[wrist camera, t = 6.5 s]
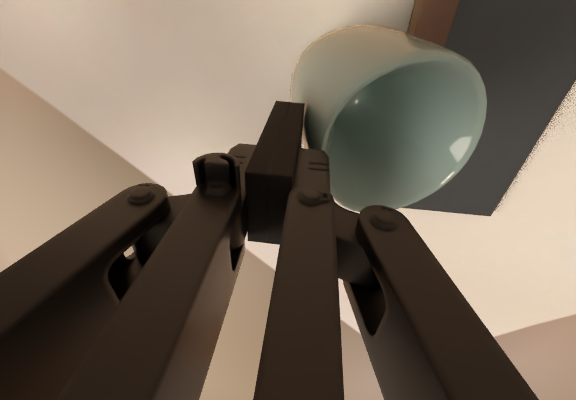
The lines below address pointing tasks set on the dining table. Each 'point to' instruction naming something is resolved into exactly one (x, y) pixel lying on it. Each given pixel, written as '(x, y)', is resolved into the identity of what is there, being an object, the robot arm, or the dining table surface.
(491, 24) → the mat
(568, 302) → the dining table surface
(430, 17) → the stop bar
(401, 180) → the cup
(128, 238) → the robot arm
